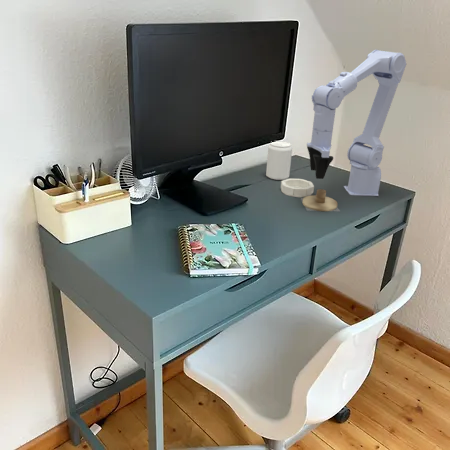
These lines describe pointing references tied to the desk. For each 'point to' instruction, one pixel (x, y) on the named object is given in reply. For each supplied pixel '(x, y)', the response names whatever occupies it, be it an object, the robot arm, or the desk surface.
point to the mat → (315, 210)
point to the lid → (320, 202)
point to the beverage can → (279, 160)
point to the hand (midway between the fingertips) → (316, 174)
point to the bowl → (297, 187)
